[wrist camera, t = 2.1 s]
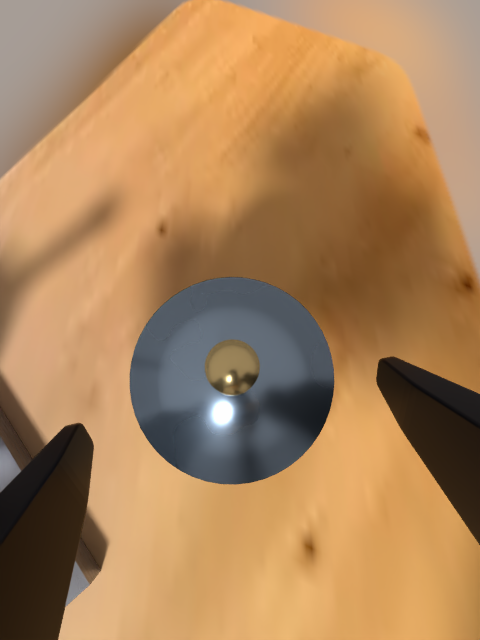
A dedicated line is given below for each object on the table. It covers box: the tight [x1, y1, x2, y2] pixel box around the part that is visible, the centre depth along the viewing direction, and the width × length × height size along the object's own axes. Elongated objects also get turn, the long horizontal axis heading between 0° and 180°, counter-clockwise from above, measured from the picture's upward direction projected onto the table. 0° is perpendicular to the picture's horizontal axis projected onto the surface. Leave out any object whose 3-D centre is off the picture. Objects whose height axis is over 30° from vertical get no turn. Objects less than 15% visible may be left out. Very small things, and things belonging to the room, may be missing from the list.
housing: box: [130, 277, 334, 484], centre depth 12 cm, size 5×5×11 cm
